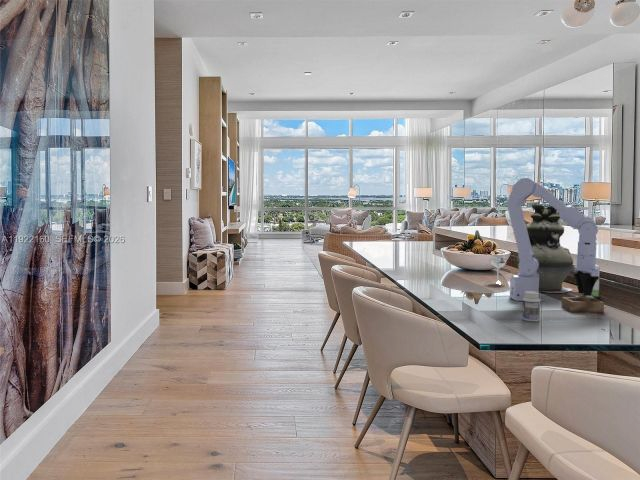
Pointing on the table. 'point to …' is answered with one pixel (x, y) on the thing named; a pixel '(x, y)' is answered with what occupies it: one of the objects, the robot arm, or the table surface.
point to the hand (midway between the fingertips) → (584, 294)
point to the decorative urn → (549, 249)
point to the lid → (583, 297)
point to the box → (582, 305)
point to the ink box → (595, 286)
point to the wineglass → (498, 264)
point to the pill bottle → (531, 306)
